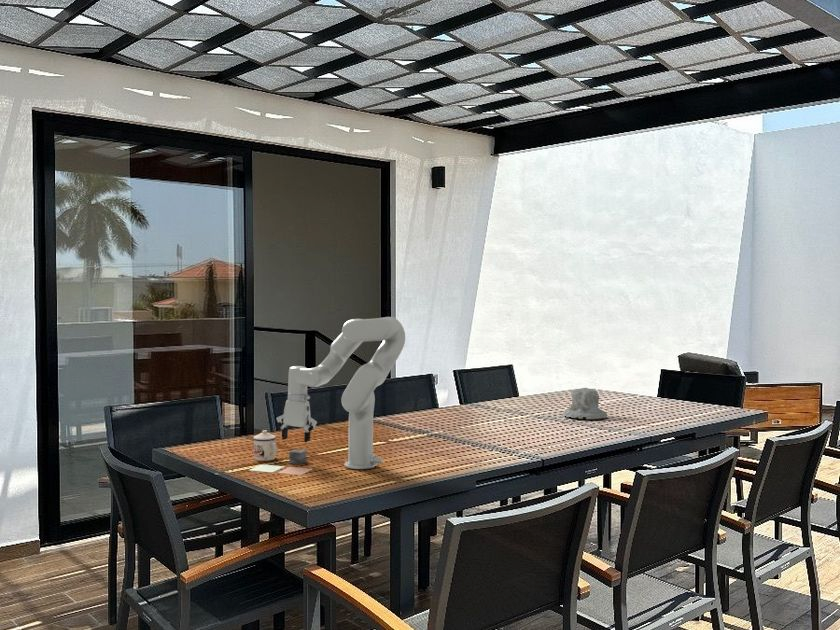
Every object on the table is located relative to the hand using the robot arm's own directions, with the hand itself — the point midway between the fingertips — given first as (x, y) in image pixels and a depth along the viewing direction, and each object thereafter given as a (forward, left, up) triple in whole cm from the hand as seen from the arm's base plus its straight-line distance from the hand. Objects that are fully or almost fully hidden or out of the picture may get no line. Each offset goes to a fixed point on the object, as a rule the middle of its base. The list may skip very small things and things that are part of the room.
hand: (295, 440), depth 316 cm
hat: (-95, -154, -10) cm, 181 cm away
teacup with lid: (+14, -2, -9) cm, 17 cm away
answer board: (-1, +14, -9) cm, 17 cm away
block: (-1, 0, -9) cm, 9 cm away
